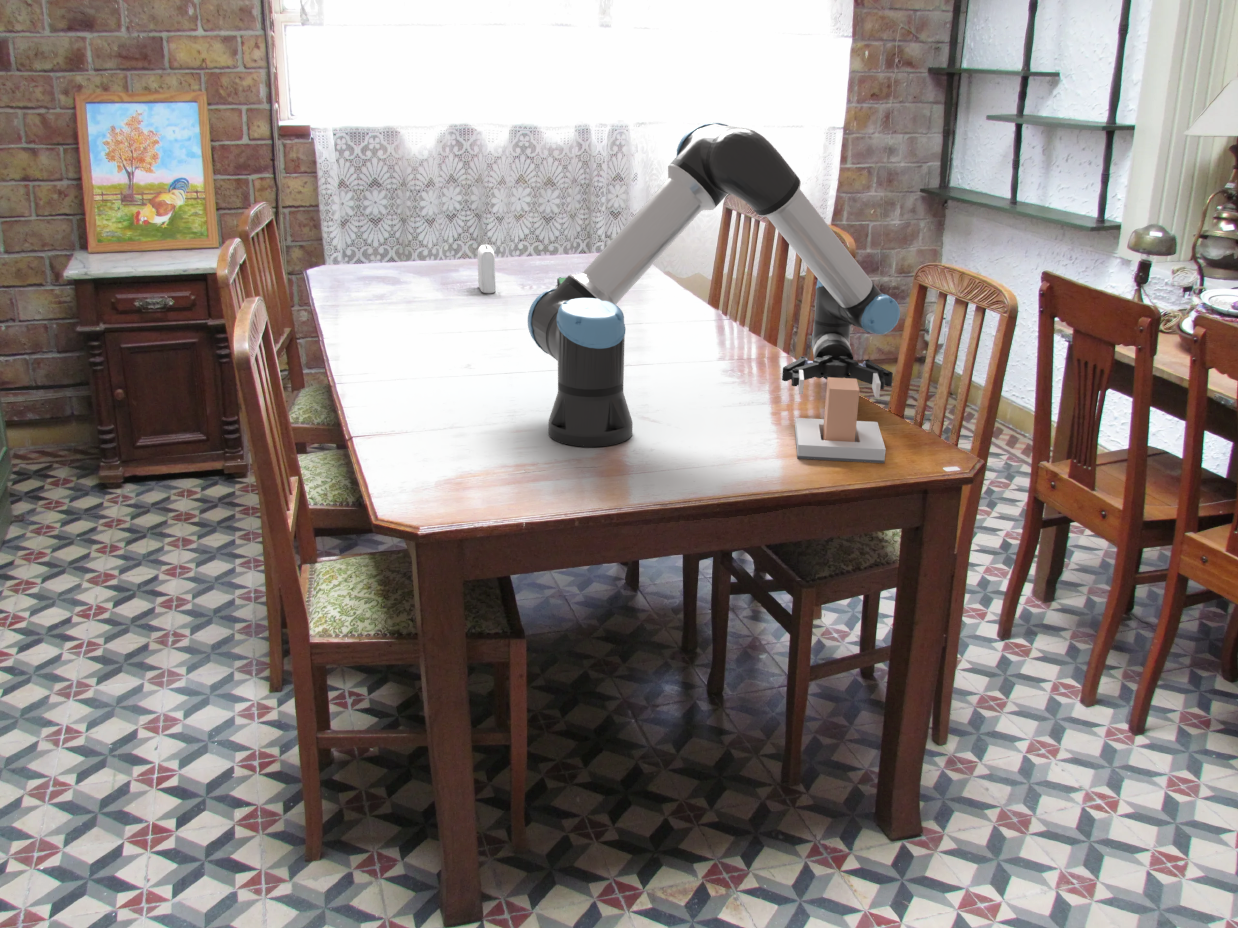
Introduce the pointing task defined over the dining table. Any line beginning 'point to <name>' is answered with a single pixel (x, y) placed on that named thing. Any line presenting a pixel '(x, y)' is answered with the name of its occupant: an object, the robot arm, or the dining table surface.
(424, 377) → the dining table surface
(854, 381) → the peach block
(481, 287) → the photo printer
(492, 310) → the dining table surface
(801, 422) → the pocket plate
